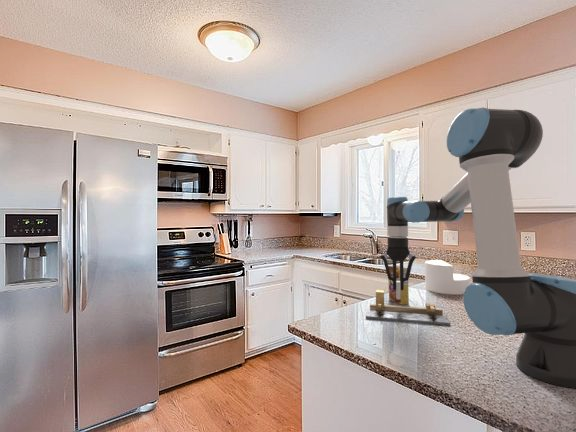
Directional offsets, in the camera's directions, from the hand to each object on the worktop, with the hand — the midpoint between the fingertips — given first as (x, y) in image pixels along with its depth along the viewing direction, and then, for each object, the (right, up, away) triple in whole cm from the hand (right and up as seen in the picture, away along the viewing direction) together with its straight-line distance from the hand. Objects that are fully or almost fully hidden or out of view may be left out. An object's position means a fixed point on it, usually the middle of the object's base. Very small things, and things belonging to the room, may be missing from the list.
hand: (398, 298), depth 126 cm
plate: (+1, -6, -7) cm, 9 cm away
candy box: (+5, -6, +15) cm, 17 cm away
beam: (+2, -6, -3) cm, 7 cm away
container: (+37, -5, +37) cm, 52 cm away
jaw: (-7, -5, 0) cm, 9 cm away
